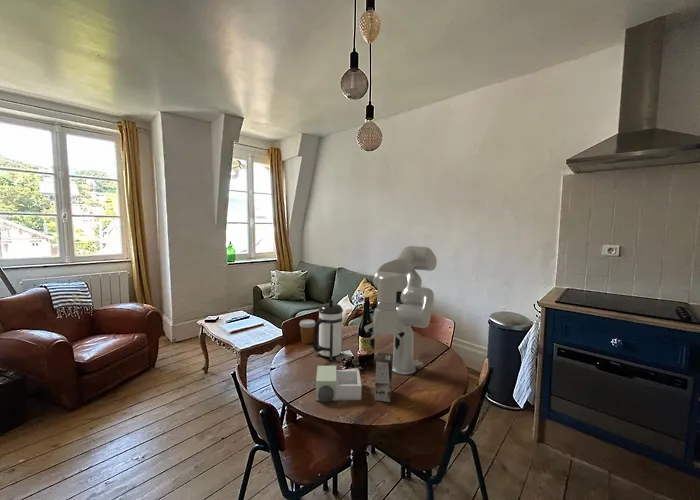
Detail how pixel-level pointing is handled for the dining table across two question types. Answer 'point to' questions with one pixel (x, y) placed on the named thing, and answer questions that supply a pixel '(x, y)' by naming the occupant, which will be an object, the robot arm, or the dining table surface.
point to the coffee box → (383, 377)
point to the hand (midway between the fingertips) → (384, 347)
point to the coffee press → (329, 330)
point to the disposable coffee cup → (307, 330)
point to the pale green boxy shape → (337, 384)
